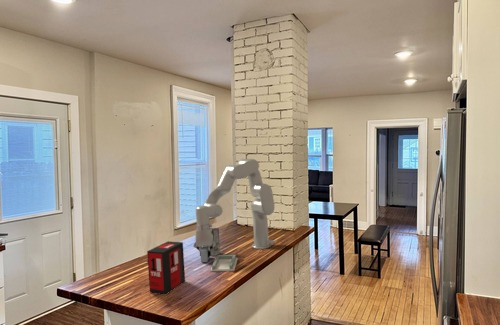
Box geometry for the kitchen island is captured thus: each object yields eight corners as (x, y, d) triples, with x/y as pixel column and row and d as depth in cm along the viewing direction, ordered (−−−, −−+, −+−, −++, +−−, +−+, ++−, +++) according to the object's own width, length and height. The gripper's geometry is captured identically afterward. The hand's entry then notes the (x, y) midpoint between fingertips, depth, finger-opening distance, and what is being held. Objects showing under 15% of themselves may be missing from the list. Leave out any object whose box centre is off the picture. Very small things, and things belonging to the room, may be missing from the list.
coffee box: (220, 253, 216) (219, 228, 215) (215, 256, 210) (213, 230, 209) (208, 251, 220) (207, 227, 219) (202, 254, 214) (201, 229, 213)
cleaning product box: (165, 295, 158) (163, 252, 156) (149, 292, 161) (147, 251, 160) (185, 281, 173) (182, 242, 172) (170, 279, 176) (167, 241, 175)
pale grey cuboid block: (210, 256, 208) (209, 244, 208) (207, 261, 198) (206, 250, 198) (204, 256, 208) (203, 245, 208) (201, 262, 198) (200, 250, 198)
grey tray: (237, 259, 202) (237, 254, 202) (234, 270, 184) (234, 265, 184) (215, 260, 203) (215, 255, 202) (210, 271, 185) (210, 266, 184)
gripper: (218, 224, 205) (220, 254, 206) (191, 225, 206) (193, 255, 207) (216, 227, 198) (218, 258, 199) (188, 229, 199) (190, 259, 200)
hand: (205, 256), depth 203 cm, fingers closed on pale grey cuboid block, 3 cm apart
